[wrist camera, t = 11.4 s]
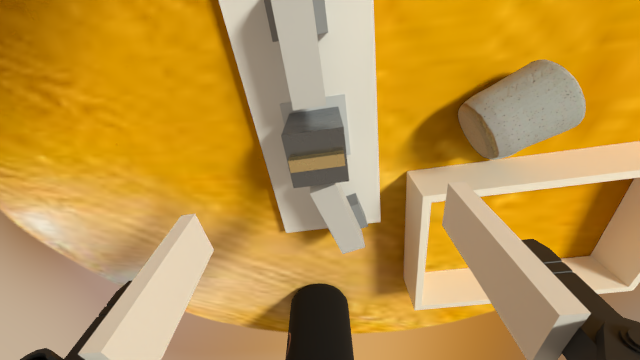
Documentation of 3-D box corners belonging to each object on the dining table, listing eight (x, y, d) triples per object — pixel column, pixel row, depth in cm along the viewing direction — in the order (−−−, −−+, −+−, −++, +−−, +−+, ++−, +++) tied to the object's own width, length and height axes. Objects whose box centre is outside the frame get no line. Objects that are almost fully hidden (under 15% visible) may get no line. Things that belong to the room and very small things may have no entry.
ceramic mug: (445, 99, 29) (483, 120, 22) (519, 54, 26) (587, 62, 20) (472, 165, 33) (511, 199, 27) (538, 132, 31) (598, 160, 24)
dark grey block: (298, 157, 30) (292, 192, 24) (289, 113, 28) (279, 139, 21) (343, 151, 30) (350, 185, 23) (338, 106, 27) (344, 129, 21)
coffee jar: (282, 288, 46) (264, 418, 30) (337, 275, 44) (348, 406, 28) (303, 319, 51) (296, 445, 35) (353, 309, 49) (369, 436, 34)
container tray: (406, 171, 33) (423, 196, 28) (665, 137, 31) (735, 158, 26) (403, 278, 44) (414, 310, 39) (594, 259, 42) (632, 290, 37)
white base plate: (218, -18, 23) (182, -36, 17) (368, -47, 22) (387, -77, 16) (287, 226, 38) (281, 262, 32) (378, 215, 37) (390, 250, 31)
